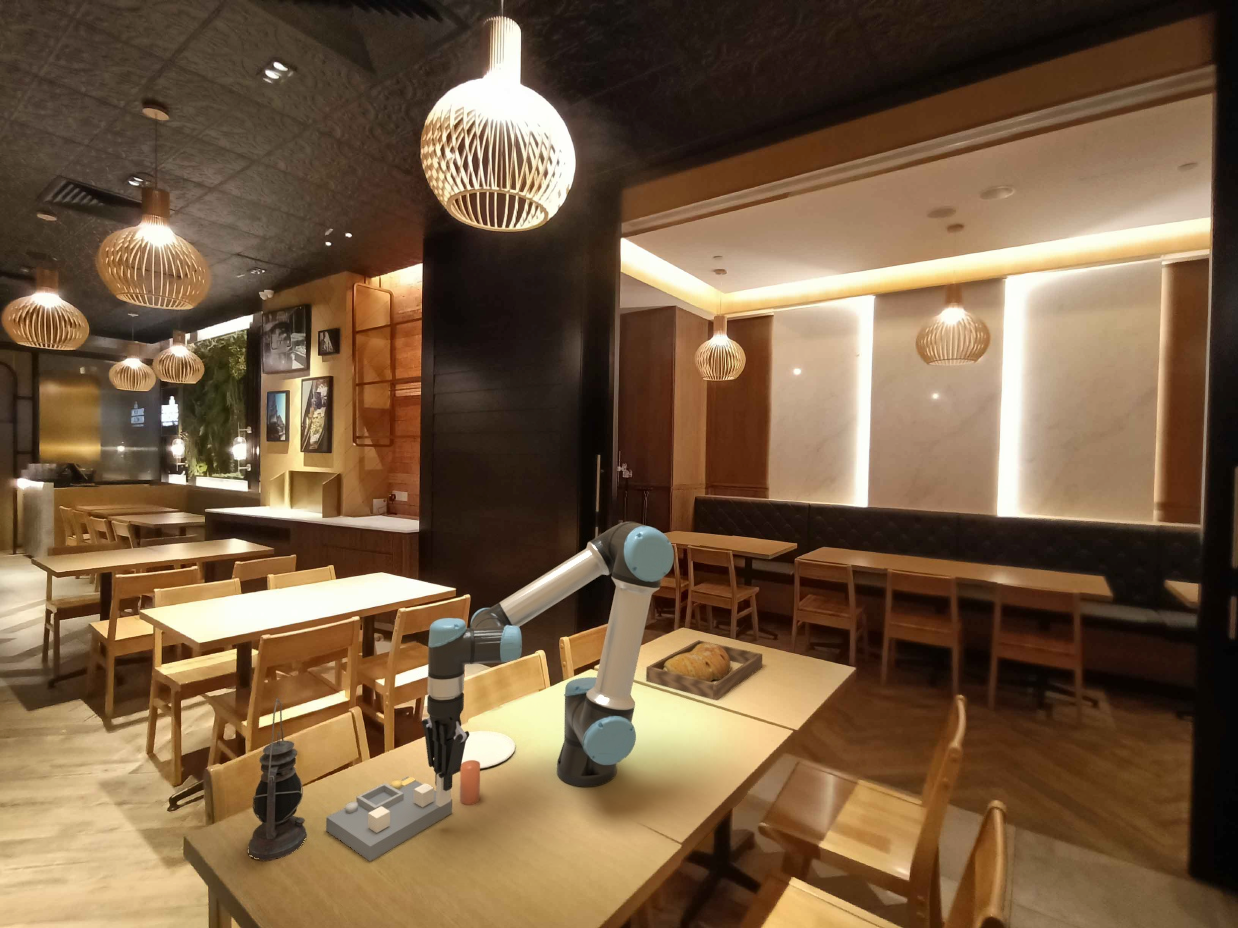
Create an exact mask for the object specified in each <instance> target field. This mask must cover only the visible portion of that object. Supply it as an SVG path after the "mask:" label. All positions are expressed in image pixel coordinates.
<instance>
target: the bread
mask: <svg viewBox="0 0 1238 928" xmlns="http://www.w3.org/2000/svg"><path fill="white" fill-rule="evenodd" d="M716 644H717V643H714V644H713V642H709V643H702V644H699V645H697V646H696V647H695V648H694V649H693V650H692V651H691V652H688V653H683V654H680V655H677V656H675V657H673V658H671V659H669V660H668V661H666V662H665V664H664V668H663V670H665V671H669V672H673V673H677V674H680V675H684V676H688V677H692V678H696V679H700V680H704V681H708V682H712V681H713V680H715V681H719V680H721V679H722V678H724V677H725V676H727V675H728V671H729V670H730V667H731V661H730V659H729V656H728V654H727V653H726V651H725V650H724V649H723V648H721V647H720V646H718V645H716Z"/></svg>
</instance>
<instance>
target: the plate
mask: <svg viewBox="0 0 1238 928" xmlns="http://www.w3.org/2000/svg"><path fill="white" fill-rule="evenodd" d="M468 732H469V737H468V739H467V741H466V744H465V749H464V753H463V758H462V763H463V762H465V761H469V760H475V761H478V762H479V763H480V770H482V769H484V770H485V769H488V768H491V767H495V766H498V765H500V764H501V763H504V762H506V761H507V760H508V759H510V758H511V757H512V756H513V754H514V752H515V751H516V744H515V741H514V740H513V739H512V738H511V737H510V736H508V735H506V734H504V733H500V732H497V731H490V730H489V731H488V730H479V731H468ZM462 763H461V764H462ZM460 771H461V768H460Z"/></svg>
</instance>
